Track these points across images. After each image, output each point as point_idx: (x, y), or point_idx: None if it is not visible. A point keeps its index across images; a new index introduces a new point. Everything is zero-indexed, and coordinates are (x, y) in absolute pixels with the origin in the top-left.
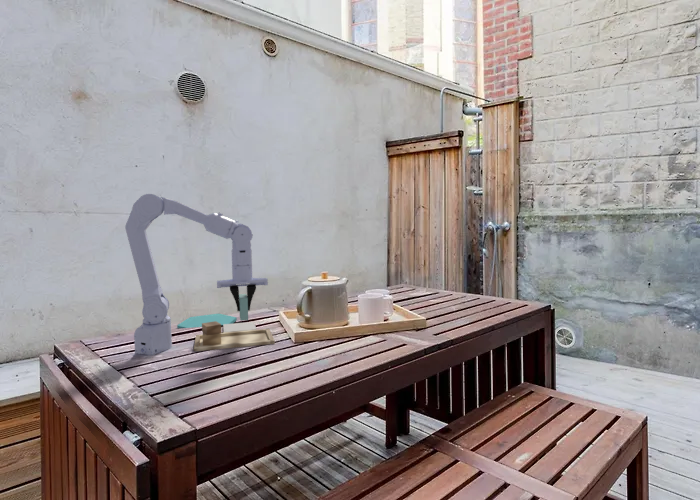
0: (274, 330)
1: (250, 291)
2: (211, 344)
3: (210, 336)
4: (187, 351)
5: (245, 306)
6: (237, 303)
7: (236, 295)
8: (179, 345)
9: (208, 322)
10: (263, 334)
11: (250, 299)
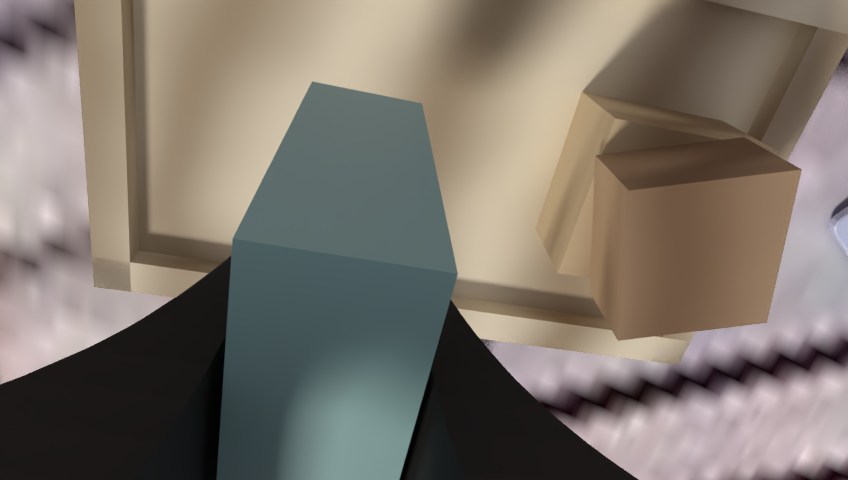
0: (67, 348)
1: (39, 450)
2: (660, 109)
3: (701, 131)
4: (808, 134)
5: (327, 161)
6: (454, 328)
7: (513, 436)
8: (780, 298)
9: (698, 329)
10: (168, 200)
11: (162, 323)
